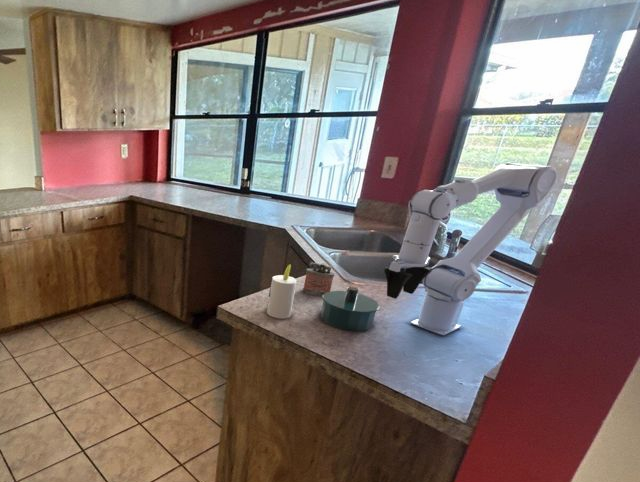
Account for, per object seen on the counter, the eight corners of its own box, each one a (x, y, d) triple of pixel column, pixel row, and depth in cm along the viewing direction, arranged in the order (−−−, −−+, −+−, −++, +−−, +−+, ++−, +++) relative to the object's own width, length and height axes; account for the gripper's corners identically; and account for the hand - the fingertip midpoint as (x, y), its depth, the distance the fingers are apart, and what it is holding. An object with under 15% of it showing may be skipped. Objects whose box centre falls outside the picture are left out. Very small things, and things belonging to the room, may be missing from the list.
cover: (341, 290, 117) (344, 276, 116) (389, 308, 107) (393, 292, 105) (311, 300, 111) (314, 285, 109) (358, 319, 100) (363, 303, 99)
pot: (338, 306, 119) (342, 289, 117) (381, 324, 109) (386, 305, 107) (311, 316, 113) (314, 298, 111) (353, 335, 103) (358, 316, 101)
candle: (266, 307, 118) (274, 258, 112) (290, 310, 116) (299, 261, 110) (265, 316, 113) (273, 265, 107) (290, 320, 110) (299, 268, 105)
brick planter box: (330, 294, 127) (337, 264, 123) (328, 298, 124) (335, 267, 121) (303, 289, 131) (308, 260, 127) (301, 292, 128) (306, 263, 125)
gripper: (415, 235, 103) (398, 285, 108) (383, 240, 95) (367, 293, 101) (446, 242, 97) (427, 294, 102) (415, 248, 90) (397, 304, 95)
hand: (399, 294), depth 101 cm, fingers open, 7 cm apart
